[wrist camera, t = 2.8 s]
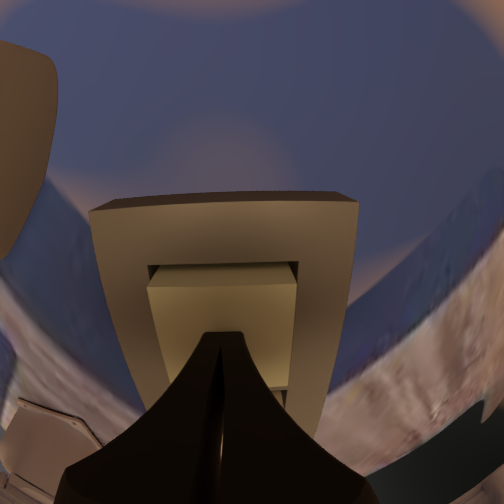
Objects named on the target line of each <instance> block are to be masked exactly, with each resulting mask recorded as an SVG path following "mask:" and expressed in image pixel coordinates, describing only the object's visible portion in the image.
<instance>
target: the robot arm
mask: <svg viewBox="0 0 504 504" xmlns="http://www.w3.org/2000/svg"><path fill="white" fill-rule="evenodd" d="M16 401H17V403H18V404H19V406H20V407H19V409H18V410H17V412H16V414H15V415H14V417H13V419H12V421H11V423H10V424H9V426H8V428H7V430H6V432H5V434H4V436H3V438H2V440H1V442H0V459H1V462H2V464H3V466H4V467H5V469H6V470H7V471H8V472H9V473H10V475H9V478H7V477H8V475H7V474H6V473H5V472H2V473H1V472H0V504H379V500H378V498H377V496H376V494H375V493H374V491H373V489H372V487H371V486H370V484H369V483H368V481H367V480H366V478H364V477H363V476H361V475H360V474H358V473H357V472H355V471H353V470H352V469H350V468H349V467H347V466H346V465H344V464H343V463H342V462H340V461H339V460H337V459H336V458H335V457H333V456H332V455H331V454H330V453H328V452H327V451H326V450H325V449H323V448H322V447H321V446H320V445H319V444H318V443H317V442H315V441H314V440H313V439H312V438H311V437H310V436H309V435H308V434H307V433H306V432H305V431H304V430H303V429H302V428H301V427H300V426H299V425H298V424H297V423H296V422H295V421H294V420H293V419H292V418H291V416H290V415H289V414H288V413H287V412H286V411H285V409H284V408H283V407H282V406H281V404H280V403H279V402H278V400H277V399H276V398H275V396H274V395H273V394H272V392H271V391H270V389H269V388H268V386H267V384H266V383H265V381H264V380H263V378H262V376H261V375H260V373H259V371H258V369H257V367H256V365H255V363H254V361H253V359H252V357H251V355H250V353H249V350H248V348H247V345H246V342H245V338H244V333H242V332H241V331H226V332H205V333H203V334H202V336H201V339H200V340H199V342H198V344H197V346H196V348H195V349H194V351H193V353H192V354H191V356H190V358H189V359H188V361H187V362H186V364H185V365H184V367H183V368H182V370H181V371H180V373H179V374H178V375H177V377H176V378H175V379H174V381H173V382H172V383H171V384H170V386H169V387H168V388H167V390H166V391H165V392H164V393H163V394H162V396H161V397H160V398H159V399H158V400H157V401H156V402H155V403H154V404H153V405H152V407H151V408H150V409H149V410H148V411H147V412H146V413H145V414H144V415H142V416H141V417H140V418H139V419H138V420H137V421H136V422H135V423H134V424H133V425H131V426H130V427H129V428H128V429H127V430H125V431H124V432H123V433H122V434H120V435H119V436H118V437H116V438H115V439H113V440H112V441H111V442H109V443H108V444H106V445H105V446H104V447H102V446H101V445H100V443H99V442H98V441H97V440H96V438H95V437H94V436H93V435H92V433H91V432H90V431H89V429H88V428H87V427H86V425H85V424H84V423H83V422H82V421H81V420H79V419H76V418H73V417H69V416H66V415H63V414H60V413H57V412H53V411H51V410H48V409H45V408H42V407H39V406H37V405H34V404H31V403H29V402H26V401H24V400H21V399H19V398H18V399H17V400H16ZM222 436H223V440H222ZM221 445H222V455H221ZM450 504H504V464H503V465H502V466H500V467H499V468H498V469H497V470H496V471H494V472H493V473H492V474H491V475H489V476H488V477H487V478H485V479H484V480H483V481H482V482H481V483H480V484H478V485H477V486H475V487H474V488H473V489H471V490H470V491H468V492H467V493H465V494H464V495H462V496H461V497H459V498H458V499H457V500H455V501H454V502H451V503H450Z"/></svg>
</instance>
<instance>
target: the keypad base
mask: <svg viewBox="0 0 504 504" xmlns="http://www.w3.org/2000/svg"><path fill="white" fill-rule="evenodd" d="M88 213H89V220H90V227H91V233H92V239H93V244H94V250H95V255H96V259H97V264H98V269H99V273H100V277H101V282H102V286H103V290H104V294H105V297H106V301H107V305H108V308H109V312H110V315H111V318H112V322H113V325H114V328H115V331H116V334H117V337H118V340H119V343H120V346H121V349H122V352H123V355H124V357H125V360H126V363H127V365H128V368H129V370H130V373H131V375H132V378H133V380H134V383H135V385H136V388H137V390H138V392H139V395H140V397H141V399H142V401H143V403H144V406H145V408H146V410H147V411H148V410H149V409H150V408H151V407H152V405H153V404H154V403H155V402H156V401H157V400H158V399H159V398H160V397H161V396H162V394H163V393H164V392H165V391H166V390H167V388H168V387H169V386H170V384H171V383H170V380H169V377H168V374H167V370H166V367H165V363H164V359H163V356H162V352H161V348H160V345H159V341H158V337H157V333H156V328H155V324H154V320H153V315H152V311H151V306H150V302H149V297H148V292H147V286H148V284H149V282H150V281H151V279H152V278H153V276H154V274H155V273H156V271H157V269H158V268H159V266H160V265H175V264H215V263H250V262H281V261H287V262H288V265H289V267H290V269H291V271H292V274H293V276H294V278H295V280H296V283H297V289H296V303H295V316H294V328H293V339H292V350H291V360H290V369H289V378H288V386H279V387H268V388H269V389H270V391H277V390H281V395H282V400H283V406H284V409H285V411H286V412H287V413H288V414H289V415H290V416H291V418H292V419H293V420H294V421H295V422H296V423H297V424H298V425H299V426H300V427H301V428H302V429H303V430H304V431H305V432H306V433H307V434H308V435H309V436H310V437H311V438H312V439H313V438H314V435H315V432H316V429H317V425H318V422H319V419H320V416H321V412H322V409H323V406H324V402H325V399H326V395H327V391H328V388H329V384H330V380H331V376H332V372H333V368H334V364H335V360H336V355H337V351H338V347H339V342H340V337H341V332H342V327H343V322H344V317H345V312H346V306H347V300H348V294H349V287H350V281H351V275H352V268H353V259H354V252H355V243H356V235H357V225H358V213H359V202H358V201H356V200H353V199H351V198H349V197H347V196H345V195H342V194H340V193H338V192H327V191H326V192H325V191H237V192H209V193H191V194H190V193H189V194H174V195H173V194H172V195H158V196H146V197H134V198H124V199H115V200H112V201H110V202H108V203H105V204H103V205H101V206H99V207H97V208H95V209H92V210H90V211H88Z"/></svg>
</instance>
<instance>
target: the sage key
mask: <svg viewBox="0 0 504 504" xmlns="http://www.w3.org/2000/svg"><path fill="white" fill-rule="evenodd" d="M296 289H297V283H296V280H295V278H294V276H293V274H292V271H291V269H290V267H289V265H288V262H287V261H281V262H250V263H215V264H175V265H160V266H159V268H158V269H157V271H156V273H155V274H154V276H153V278H152V279H151V281H150V282H149V284H148V286H147V292H148V297H149V302H150V306H151V311H152V315H153V320H154V324H155V328H156V333H157V337H158V341H159V345H160V348H161V352H162V356H163V359H164V363H165V367H166V370H167V374H168V377H169V380H170V383H172V382H173V381H174V379H175V378H176V377H177V375H178V374H179V373H180V371H181V370H182V368H183V367H184V365H185V364H186V362H187V361H188V359H189V358H190V356H191V354H192V353H193V351H194V349H195V348H196V346H197V344H198V342H199V340H200V339H201V336H202V334H203V333H205V332H226V331H241V332H242V333H244V338H245V342H246V345H247V348H248V350H249V353H250V355H251V357H252V359H253V361H254V363H255V365H256V367H257V369H258V371H259V373H260V375H261V376H262V378H263V380H264V381H265V383H266V384H267V386H268V387H279V386H288V378H289V369H290V360H291V350H292V339H293V328H294V316H295V303H296Z"/></svg>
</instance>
